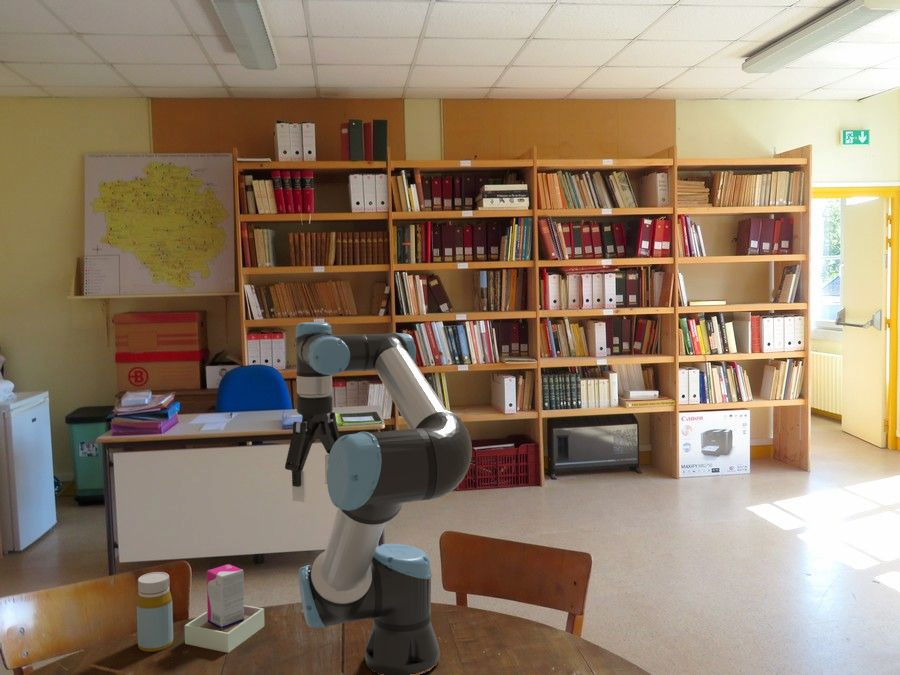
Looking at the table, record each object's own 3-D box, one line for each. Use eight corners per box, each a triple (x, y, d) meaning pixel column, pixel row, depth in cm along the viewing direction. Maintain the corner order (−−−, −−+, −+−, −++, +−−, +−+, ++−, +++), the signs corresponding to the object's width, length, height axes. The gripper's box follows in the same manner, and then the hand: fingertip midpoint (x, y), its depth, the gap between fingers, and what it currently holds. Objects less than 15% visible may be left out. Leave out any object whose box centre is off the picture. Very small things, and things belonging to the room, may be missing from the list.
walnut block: (250, 629, 173) (249, 616, 173) (227, 645, 166) (227, 631, 166) (223, 624, 176) (223, 611, 175) (200, 639, 168) (200, 626, 168)
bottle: (161, 655, 162) (159, 585, 161) (131, 652, 164) (128, 582, 163) (179, 640, 169) (177, 572, 168) (150, 637, 171) (148, 570, 169)
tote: (264, 628, 175) (264, 608, 174) (228, 654, 163) (227, 633, 162) (223, 620, 179) (222, 601, 178) (185, 645, 167) (184, 625, 166)
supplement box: (245, 620, 171) (244, 569, 170) (221, 629, 166) (220, 577, 165) (230, 612, 175) (229, 562, 174) (206, 621, 170) (205, 570, 169)
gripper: (327, 385, 181) (329, 476, 182) (266, 402, 157) (268, 506, 159) (357, 387, 178) (358, 479, 180) (298, 405, 155) (300, 510, 156)
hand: (315, 492), depth 169 cm, fingers open, 13 cm apart
